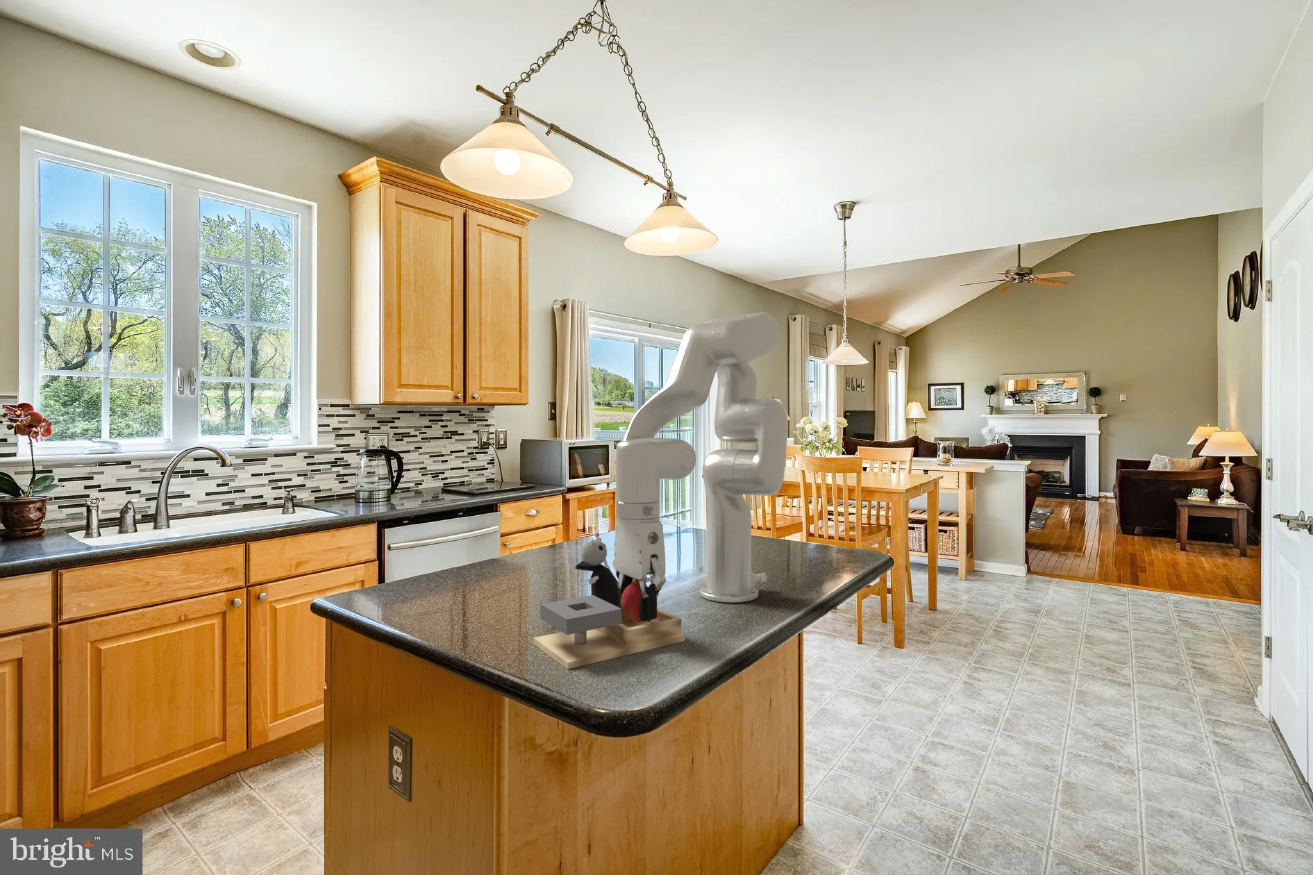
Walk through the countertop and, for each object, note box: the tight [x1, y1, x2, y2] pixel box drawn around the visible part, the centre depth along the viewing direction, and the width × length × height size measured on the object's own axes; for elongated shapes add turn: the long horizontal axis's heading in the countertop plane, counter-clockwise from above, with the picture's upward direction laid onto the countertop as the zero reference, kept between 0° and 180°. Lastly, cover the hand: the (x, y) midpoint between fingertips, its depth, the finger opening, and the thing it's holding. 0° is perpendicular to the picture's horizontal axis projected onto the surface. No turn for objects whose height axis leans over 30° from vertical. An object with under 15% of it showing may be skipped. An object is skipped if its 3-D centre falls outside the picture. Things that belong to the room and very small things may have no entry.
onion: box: [621, 579, 649, 623], centre depth 108 cm, size 6×6×8 cm
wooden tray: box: [532, 608, 686, 670], centre depth 105 cm, size 22×13×6 cm, turn 124°
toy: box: [575, 533, 620, 607], centre depth 123 cm, size 12×7×15 cm, turn 168°
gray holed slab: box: [539, 594, 622, 635], centre depth 102 cm, size 10×10×2 cm
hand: (637, 613), depth 108 cm, fingers closed on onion, 5 cm apart
